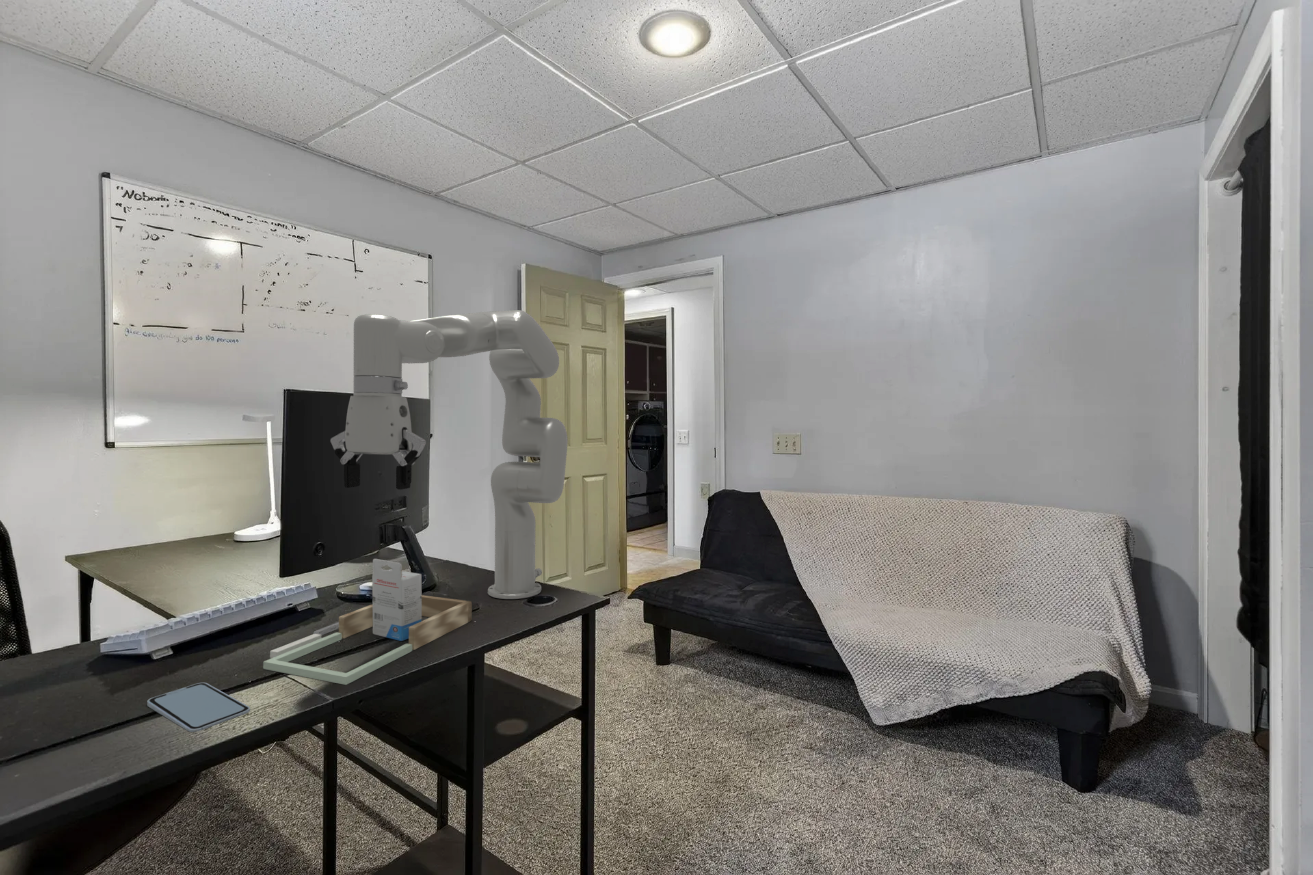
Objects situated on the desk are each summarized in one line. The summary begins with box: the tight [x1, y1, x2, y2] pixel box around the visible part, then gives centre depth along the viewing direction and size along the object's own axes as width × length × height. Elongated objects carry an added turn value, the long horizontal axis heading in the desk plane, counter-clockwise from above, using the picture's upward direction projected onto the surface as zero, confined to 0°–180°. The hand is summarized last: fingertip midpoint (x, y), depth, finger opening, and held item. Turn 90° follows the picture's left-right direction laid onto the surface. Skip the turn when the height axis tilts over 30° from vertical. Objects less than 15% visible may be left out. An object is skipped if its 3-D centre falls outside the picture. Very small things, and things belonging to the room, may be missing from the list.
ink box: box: [371, 558, 423, 642], centre depth 115 cm, size 9×5×15 cm, turn 62°
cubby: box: [338, 594, 473, 651], centre depth 118 cm, size 17×17×4 cm
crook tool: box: [313, 621, 339, 637], centre depth 119 cm, size 12×5×1 cm, turn 162°
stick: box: [269, 633, 322, 659], centre depth 107 cm, size 9×2×2 cm, turn 161°
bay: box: [262, 631, 413, 686], centre depth 103 cm, size 15×17×1 cm
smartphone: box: [146, 682, 251, 733], centre depth 85 cm, size 7×1×15 cm
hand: (377, 487), depth 103 cm, fingers open, 9 cm apart
